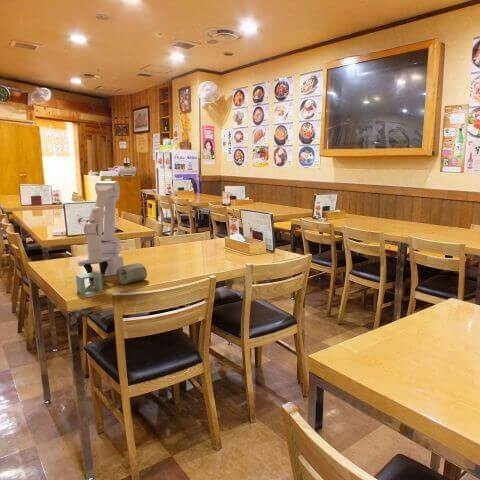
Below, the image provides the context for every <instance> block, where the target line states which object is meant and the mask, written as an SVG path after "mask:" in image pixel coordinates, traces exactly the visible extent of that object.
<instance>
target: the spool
mask: <svg viewBox="0 0 480 480" xmlns="http://www.w3.org/2000/svg"><path fill="white" fill-rule="evenodd" d="M147 276H148V272H147V269H146V266H145V265H144V264H142V263H139V262H138V263H130V264H125V265H123V267H120V268H118V269H117V275H116V277H117V280H118V282H119V283H120V284H121V285H124V286H125V285H127V284H131V283H137V282H141V281H145V280H146V279H147Z"/></svg>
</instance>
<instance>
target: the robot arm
mask: <svg viewBox="0 0 480 480" xmlns="http://www.w3.org/2000/svg"><path fill="white" fill-rule="evenodd" d="M94 190H95V192H96V199H95V206H94V207H93V208H92V209H90V210H91V211H90V215H89V218H88V221H87V222H86V223H85V224H84V226H83V233H84V235H85V240H86V241H87V245H86V246H87V255H88V256H87V257H88V259H87V258H86V259H84V260H78V261H77V266H78V267H83V268H84V270H85V272H86V273H92V270H93V269H94V268H93V266H92V265H96V264H99V272H101V273H103V274H104V275H105V277H110V276H117V269H118V268H120V267H123V266H124V259H123V256H122V254H121V251H122V247H121V245H122V244H121V239H120V238H119V237H118V236H116V235H115V234H116V233H115V231H116V230H115V228H116V210H117V209H116V208H117V201H119V200H120V196H121V195H120V194H121V193H120V191H121V187H120V183H119V182H118V181H117V180H113V181H112V180H111V181H109V180H108V181H100V180H98V181H96V183H95V185H94ZM102 234H103V235H102ZM101 235H102V236H101ZM89 279H90V281H93V278H88V280H89ZM90 281H89V282H90Z"/></svg>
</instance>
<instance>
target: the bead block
mask: <svg viewBox="0 0 480 480" xmlns="http://www.w3.org/2000/svg"><path fill="white" fill-rule="evenodd" d="M93 277H94V284H93V285H94V286H93V289H95V290H97V291H98V292H103V286H102V275H101V274H100V273H98V272H93V273H87V272H86V273H80V274H76V275H75V280H76V282H75V283H76V292H77V293H79V294H80V295H86V287H85V286H86V285H85V279H89V278H93Z"/></svg>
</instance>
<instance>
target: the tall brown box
mask: <svg viewBox="0 0 480 480" xmlns="http://www.w3.org/2000/svg"><path fill="white" fill-rule="evenodd" d="M93 272H98V273H100V274H101V275H102V287H105V286H106V276H105V275H104V274H103V273H101V272H100V270H98V269H96V268H92V273H93ZM88 281H89V282H90V283H92V284H93V285H94V277H93V281H90V279H89V278H88Z"/></svg>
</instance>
